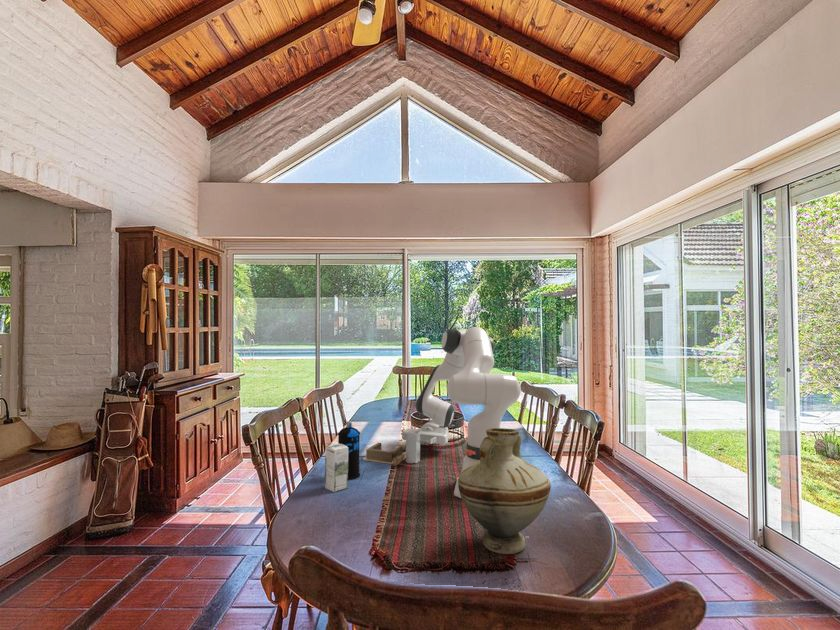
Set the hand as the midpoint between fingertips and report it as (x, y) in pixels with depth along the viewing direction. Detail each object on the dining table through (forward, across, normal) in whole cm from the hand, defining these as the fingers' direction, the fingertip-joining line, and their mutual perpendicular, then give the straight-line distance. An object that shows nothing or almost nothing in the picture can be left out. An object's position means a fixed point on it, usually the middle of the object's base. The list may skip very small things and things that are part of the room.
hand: (418, 440), depth 190 cm
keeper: (+5, -13, +7) cm, 16 cm away
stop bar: (+6, 0, +7) cm, 9 cm away
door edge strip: (+6, -5, +7) cm, 10 cm away
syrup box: (+42, -14, +7) cm, 45 cm away
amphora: (+59, +46, +8) cm, 75 cm away
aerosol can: (+30, -16, +7) cm, 35 cm away
